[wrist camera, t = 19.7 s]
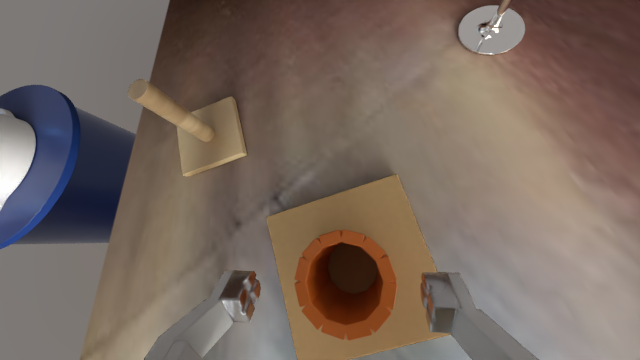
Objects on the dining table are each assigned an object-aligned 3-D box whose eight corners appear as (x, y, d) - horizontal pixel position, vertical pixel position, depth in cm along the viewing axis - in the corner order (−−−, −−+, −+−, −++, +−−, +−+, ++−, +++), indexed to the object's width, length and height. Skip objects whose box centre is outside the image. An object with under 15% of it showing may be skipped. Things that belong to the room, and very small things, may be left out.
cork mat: (302, 366, 21) (299, 372, 20) (269, 217, 25) (265, 216, 24) (457, 327, 20) (462, 332, 19) (395, 175, 24) (397, 173, 23)
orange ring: (330, 310, 21) (309, 351, 13) (312, 243, 23) (284, 246, 15) (396, 292, 20) (413, 324, 13) (372, 225, 22) (374, 218, 14)
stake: (188, 177, 28) (98, 145, 19) (181, 122, 31) (98, 69, 21) (247, 155, 28) (184, 111, 18) (235, 100, 30) (174, 35, 20)
